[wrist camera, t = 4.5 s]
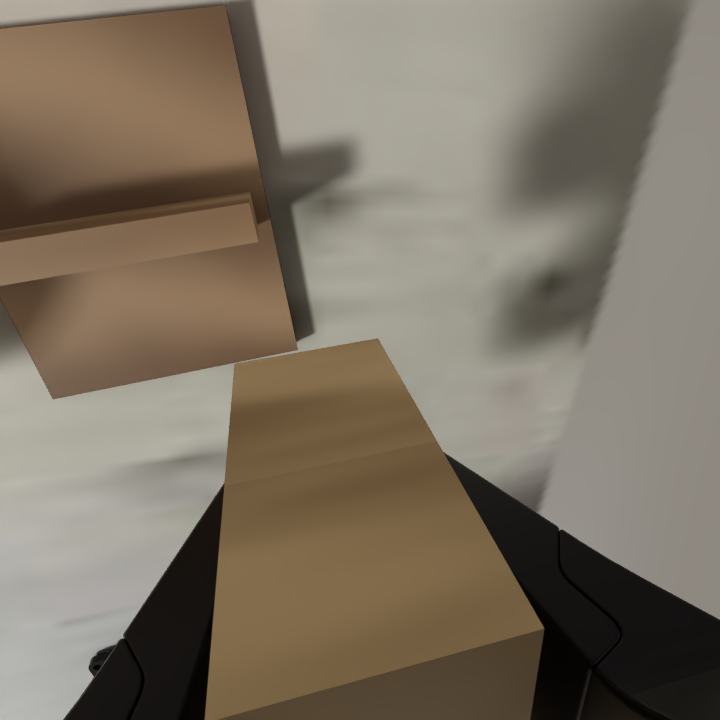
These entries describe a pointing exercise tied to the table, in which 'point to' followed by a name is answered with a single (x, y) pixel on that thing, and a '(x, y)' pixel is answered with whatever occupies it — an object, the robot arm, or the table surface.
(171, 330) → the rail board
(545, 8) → the table surface
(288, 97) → the table surface
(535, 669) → the tan notched block
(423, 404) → the table surface
